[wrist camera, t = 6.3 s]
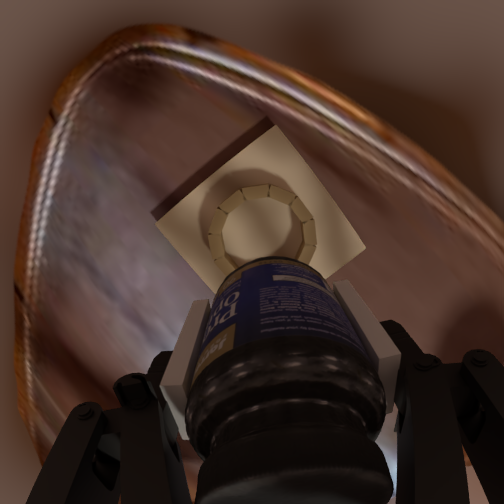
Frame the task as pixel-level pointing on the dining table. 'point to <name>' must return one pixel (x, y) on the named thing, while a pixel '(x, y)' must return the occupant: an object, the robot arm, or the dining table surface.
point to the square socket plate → (260, 215)
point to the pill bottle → (285, 395)
